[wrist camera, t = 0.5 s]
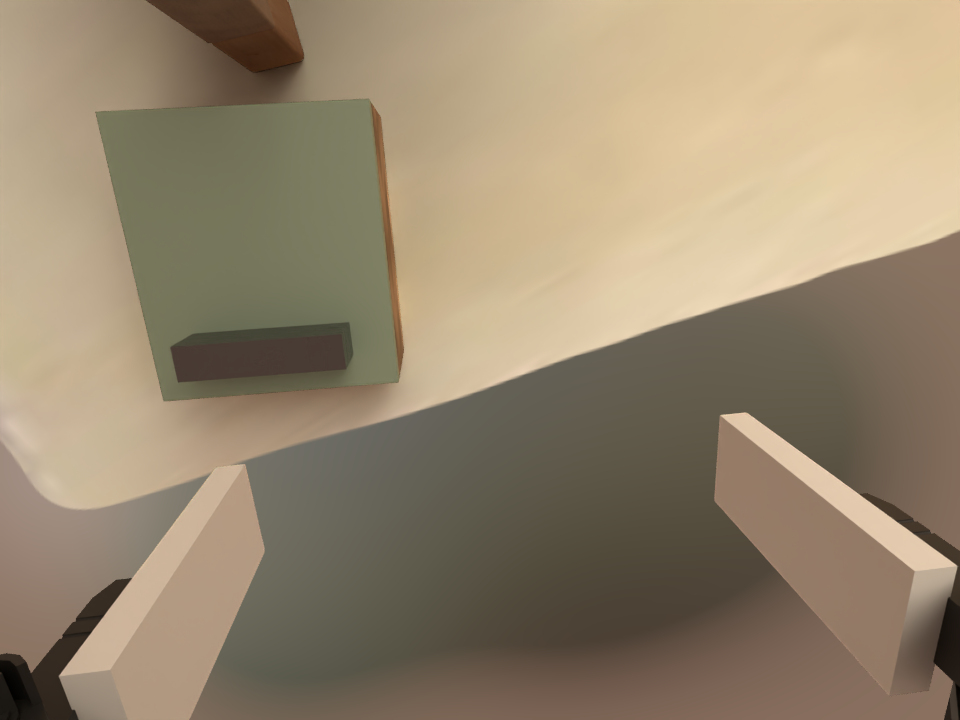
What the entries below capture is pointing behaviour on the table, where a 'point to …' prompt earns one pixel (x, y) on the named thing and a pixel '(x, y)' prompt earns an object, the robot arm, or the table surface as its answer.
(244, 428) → the table surface
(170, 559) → the robot arm
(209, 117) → the lid
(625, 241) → the table surface
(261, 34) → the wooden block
